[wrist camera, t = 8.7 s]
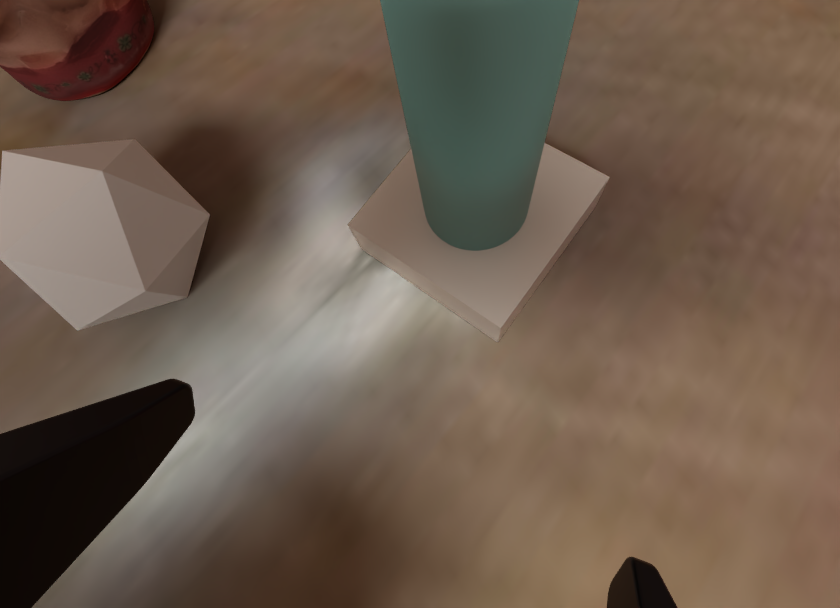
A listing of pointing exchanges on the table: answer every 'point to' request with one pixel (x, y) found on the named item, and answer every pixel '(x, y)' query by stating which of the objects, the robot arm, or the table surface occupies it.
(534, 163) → the thermos
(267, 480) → the table surface
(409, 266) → the block
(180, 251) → the die
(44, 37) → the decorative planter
